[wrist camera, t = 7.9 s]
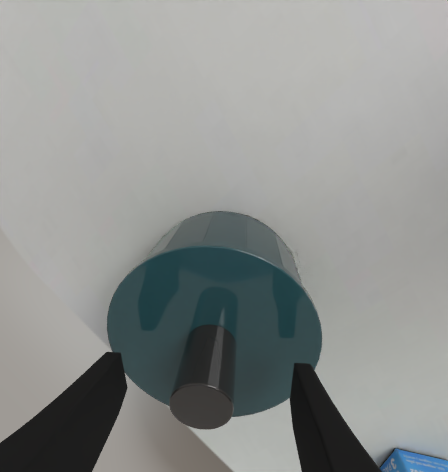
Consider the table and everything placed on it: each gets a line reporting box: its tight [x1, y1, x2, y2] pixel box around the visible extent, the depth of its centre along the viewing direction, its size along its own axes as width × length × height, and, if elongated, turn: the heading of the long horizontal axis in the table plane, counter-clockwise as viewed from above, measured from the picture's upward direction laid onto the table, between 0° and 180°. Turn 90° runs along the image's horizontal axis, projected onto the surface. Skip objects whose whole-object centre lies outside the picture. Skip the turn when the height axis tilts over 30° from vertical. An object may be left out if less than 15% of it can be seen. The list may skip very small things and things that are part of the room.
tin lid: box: [107, 242, 322, 429], centre depth 12 cm, size 10×10×4 cm
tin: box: [147, 211, 302, 284], centre depth 16 cm, size 10×10×5 cm
